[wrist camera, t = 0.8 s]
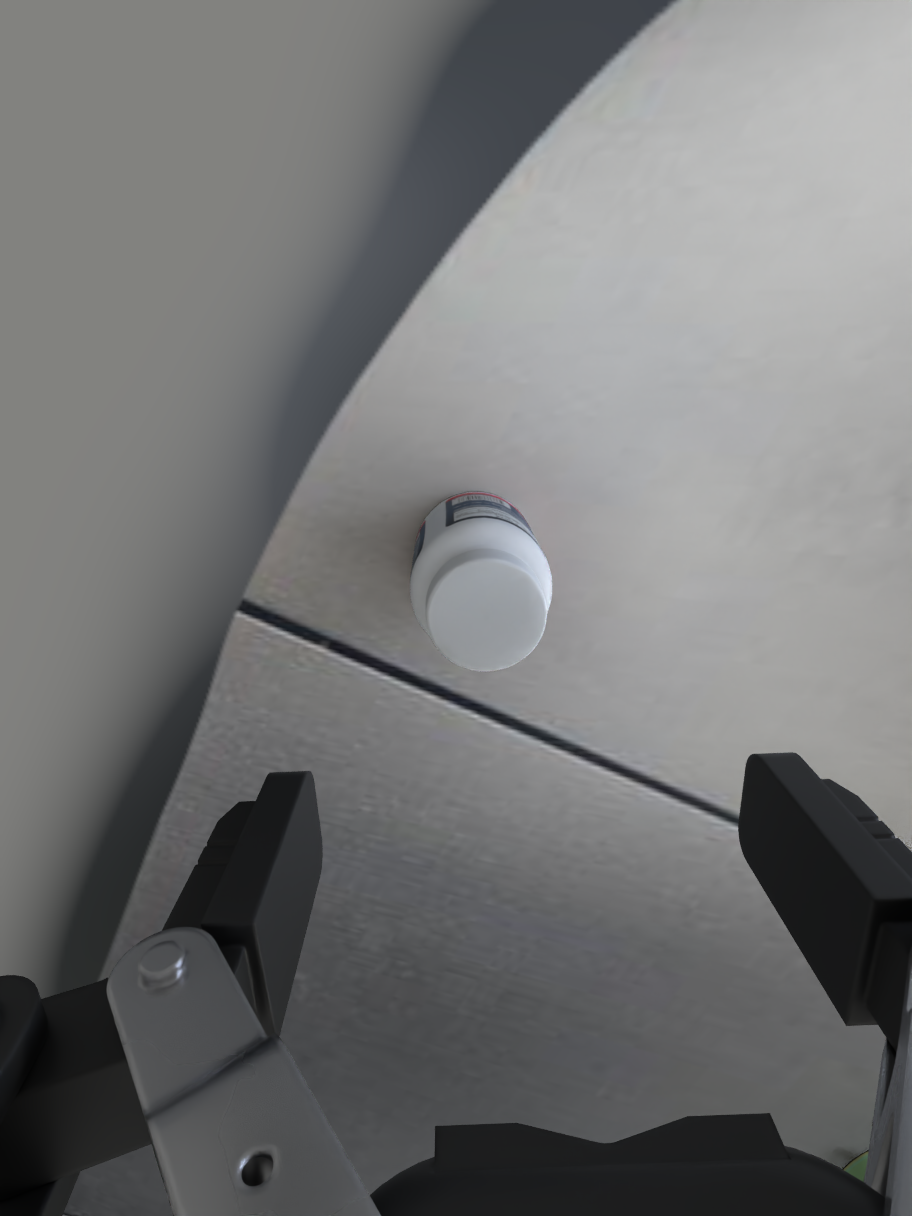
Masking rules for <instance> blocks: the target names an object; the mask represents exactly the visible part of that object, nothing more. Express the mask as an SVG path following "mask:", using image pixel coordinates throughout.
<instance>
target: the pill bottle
mask: <svg viewBox="0 0 912 1216" xmlns="http://www.w3.org/2000/svg"><path fill="white" fill-rule="evenodd" d="M410 597H411V603H412V607H413V610H414V613H415V615H416V618H417V620H418V621H419V623H420V625H421V626H422V628H423V629H424V630H425V632H426V633H427V634H428V635H429V636H430V638H431V640H432V642H433V644H434V645H435V647H436V648H437V649H438V651H439V652H440V653H441V654H442V655H443V656H444V657H445V658H447V659H448V660H449V661H451V662H452V663H454V664H456V665H458V666H460V667H463V668H466V669H469V670H473V671H480V672H489V671H497V670H501V669H505V668H508V667H510V666H512V665H514V664H516V663H518V662H519V661H521V660H523V659H524V658H525V657H527V656H528V654H529V653H531V652H532V651H533V649H534V648H535V647H536V645H537V644H538V642H539V641H540V639H541V637H542V635H543V632H544V629H545V625H546V620H547V612H548V609H549V606H550V602H551V598H552V576H551V571H550V568H549V565H548V562H547V559H546V557H545V555H544V553H543V551H542V549H541V548H540V546H539V544H538V542H537V540H536V538H535V537H534V535H533V533H532V531H531V529H530V527H529V525H528V523H527V521H526V520H525V518H524V517H523V515H522V514H521V513H520V512H519V510H518V509H517V508H516V507H515V506H513V505H512V504H511V503H510V502H508V501H507V500H505V499H503V498H501V497H499V496H497V495H494V494H490V493H486V492H465V493H461V494H457V495H454V496H452V497H450V498H448V499H446V500H444V501H443V502H441V503H440V504H438V505H437V506H436V507H435V508H434V509H433V510H432V511H431V512H430V513H429V514H428V516H427V517H426V518H425V520H424V521H423V523H422V525H421V527H420V529H419V532H418V535H417V538H416V543H415V549H414V556H413V563H412V570H411V576H410Z"/></svg>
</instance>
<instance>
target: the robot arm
mask: <svg viewBox="0 0 912 1216" xmlns="http://www.w3.org/2000/svg"><path fill="white" fill-rule="evenodd" d="M738 832H739V840H740V845H741V849H742V852H743V855H744V857H745V859H746V861H747V863H748V864H749V866H750V868H751V869H752V871H753V873H754V874H755V876H756V878H757V879H758V881H759V883H760V884H761V886H762V888H763V889H764V891H765V892H766V894H767V896H768V897H769V899H770V901H771V902H772V904H773V906H774V907H775V909H776V911H777V912H778V914H779V916H780V917H781V919H782V920H783V922H784V924H785V925H786V927H787V929H788V930H789V932H790V934H791V935H792V937H793V939H794V940H795V942H796V944H797V945H798V947H799V949H800V950H801V952H802V953H803V955H804V957H805V958H806V960H807V962H808V963H809V965H810V967H811V968H812V970H813V972H814V973H815V975H816V977H817V978H818V980H819V981H820V983H821V985H822V986H823V988H824V990H825V991H826V993H827V995H828V996H829V998H830V1000H831V1001H832V1003H833V1005H834V1006H835V1008H836V1009H837V1011H838V1013H839V1014H840V1016H841V1018H842V1019H843V1021H844V1023H845V1024H846V1026H854V1025H879V1027H880V1028H881V1030H882V1031H883V1033H884V1034H885V1036H886V1037H887V1038H886V1042H885V1046H884V1049H883V1053H882V1060H881V1067H880V1074H879V1081H878V1088H877V1095H876V1102H875V1110H874V1117H873V1124H872V1131H871V1138H870V1145H869V1152H868V1159H867V1165H866V1171H865V1177H864V1182H863V1181H861V1180H860V1179H858V1178H856V1177H854V1176H853V1175H851V1174H849V1173H848V1172H846V1171H844V1170H843V1169H841V1168H839V1167H837V1166H835V1165H833V1164H831V1163H829V1162H827V1161H825V1160H823V1159H821V1158H819V1157H816V1156H814V1155H811V1154H808V1153H805V1152H803V1151H800V1150H797V1149H794V1148H791V1147H787V1146H784V1145H783V1142H782V1140H781V1138H780V1135H779V1133H778V1131H777V1129H776V1126H775V1124H774V1122H773V1119H772V1117H771V1115H770V1113H765V1114H739V1115H713V1116H687V1117H685V1118H682V1119H679V1120H676V1121H673V1122H671V1123H668V1124H665V1125H662V1126H659V1127H657V1128H654V1129H651V1130H648V1131H645V1132H643V1133H640V1134H637V1135H634V1136H631V1137H629V1138H626V1139H623V1140H620V1141H617V1142H614V1143H605V1144H604V1143H598V1142H593V1141H589V1140H585V1139H581V1138H577V1137H573V1136H569V1135H565V1134H561V1133H556V1132H552V1131H548V1130H544V1129H540V1128H536V1127H532V1126H528V1125H524V1124H519V1123H504V1124H478V1125H452V1126H435V1157H433V1158H430V1159H428V1160H425V1161H422V1162H420V1163H417V1164H416V1165H414V1166H412V1167H410V1168H408V1169H406V1170H404V1171H402V1172H400V1173H398V1174H397V1175H396V1176H394V1177H393V1178H391V1179H390V1180H388V1181H387V1182H385V1183H384V1184H382V1185H381V1186H380V1187H379V1188H378V1189H376V1190H375V1191H374V1192H373V1193H372V1194H371V1195H369V1193H368V1192H367V1190H366V1188H365V1186H364V1185H363V1183H362V1181H361V1179H360V1177H359V1176H358V1174H357V1172H356V1170H355V1169H354V1167H353V1165H352V1163H351V1161H350V1160H349V1158H348V1156H347V1154H346V1152H345V1151H344V1149H343V1147H342V1145H341V1144H340V1142H339V1140H338V1138H337V1136H336V1135H335V1133H334V1131H333V1129H332V1128H331V1126H330V1124H329V1122H328V1120H327V1119H326V1117H325V1115H324V1113H323V1112H322V1110H321V1108H320V1106H319V1104H318V1103H317V1101H316V1099H315V1097H314V1096H313V1094H312V1092H311V1090H310V1088H309V1087H308V1085H307V1083H306V1081H305V1079H304V1078H303V1076H302V1074H301V1072H300V1071H299V1069H298V1067H297V1065H296V1063H295V1062H294V1060H293V1058H292V1056H291V1055H290V1053H289V1051H288V1049H287V1048H286V1046H285V1044H284V1043H283V1041H282V1040H281V1038H280V1037H279V1036H280V1032H281V1028H282V1024H283V1020H284V1016H285V1012H286V1008H287V1004H288V1000H289V996H290V992H291V988H292V985H293V981H294V977H295V973H296V969H297V965H298V961H299V957H300V953H301V949H302V945H303V941H304V938H305V934H306V930H307V926H308V922H309V918H310V914H311V910H312V906H313V902H314V898H315V894H316V890H317V887H318V883H319V879H320V874H321V868H322V836H321V829H320V822H319V814H318V807H317V799H316V792H315V784H314V779H313V775H312V773H311V772H310V771H299V772H274V773H269V774H268V775H267V777H266V779H265V782H264V784H263V786H262V788H261V791H260V793H259V795H258V797H257V799H256V801H247V802H238V803H237V804H236V805H235V806H234V807H233V808H232V809H231V810H230V811H229V812H227V813H226V814H225V815H224V816H223V817H222V818H221V819H220V820H219V821H218V822H217V824H216V826H215V828H214V830H213V832H212V834H211V836H210V838H209V840H208V842H207V847H205V848H204V850H203V851H202V853H201V855H200V857H199V859H198V865H195V867H194V869H193V871H192V873H191V875H190V877H189V879H188V881H187V883H186V885H185V887H184V888H183V890H182V892H181V894H180V896H179V898H178V900H177V902H176V904H175V906H174V908H173V910H172V912H171V914H170V916H169V918H168V920H167V922H166V924H165V926H164V927H163V929H162V931H161V932H158V933H156V934H153V935H151V936H149V937H147V938H145V939H144V940H142V941H140V942H139V943H138V944H136V945H135V946H133V947H132V948H131V949H130V950H129V951H127V952H126V953H125V954H124V955H123V956H122V958H121V959H120V960H119V961H118V962H117V964H116V965H115V966H114V968H113V970H112V972H111V974H110V976H109V978H106V979H104V980H102V981H99V982H96V983H93V984H90V985H87V986H83V987H80V988H77V989H73V990H70V991H67V992H63V993H60V994H57V995H54V996H51V997H47V998H44V999H41V998H40V995H39V992H38V989H37V987H36V986H35V984H34V983H33V982H32V981H31V980H29V979H28V978H25V977H22V976H16V975H6V976H0V1216H62V1215H63V1212H64V1210H65V1207H66V1205H67V1203H68V1200H69V1198H70V1195H71V1193H72V1190H73V1188H74V1185H75V1183H76V1180H77V1178H78V1176H79V1173H80V1171H82V1170H84V1169H87V1168H90V1167H92V1166H95V1165H97V1164H100V1163H103V1162H105V1161H108V1160H110V1159H113V1158H116V1157H118V1156H121V1155H124V1154H126V1153H129V1152H131V1151H134V1150H137V1149H139V1148H142V1147H145V1146H147V1145H150V1144H151V1145H152V1148H153V1151H154V1154H155V1158H156V1161H157V1164H158V1167H159V1170H160V1174H161V1177H162V1180H163V1183H164V1187H165V1190H166V1193H167V1196H168V1200H169V1203H170V1206H171V1209H172V1213H173V1216H912V852H911V851H910V850H909V849H908V848H907V847H906V845H905V844H904V843H903V842H902V841H901V840H900V839H899V838H895V836H894V833H893V832H892V831H891V830H890V829H889V828H888V827H887V826H886V825H885V824H884V823H883V822H882V821H879V820H878V816H877V815H876V814H875V813H874V812H873V811H872V810H871V809H870V808H869V807H868V806H867V805H866V804H865V803H864V802H863V801H862V800H861V799H860V798H859V797H858V796H857V795H855V794H854V793H852V792H850V791H849V790H847V789H845V788H844V787H842V786H840V785H839V784H837V783H835V782H834V781H832V780H830V779H820V778H819V777H818V775H817V774H816V773H815V772H814V771H813V770H812V769H811V768H810V767H809V766H808V764H807V763H806V762H805V761H804V760H803V759H802V758H801V757H800V756H799V755H798V754H796V753H768V754H752V755H750V756H749V758H748V760H747V763H746V768H745V776H744V784H743V792H742V800H741V808H740V816H739V825H738Z"/></svg>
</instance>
